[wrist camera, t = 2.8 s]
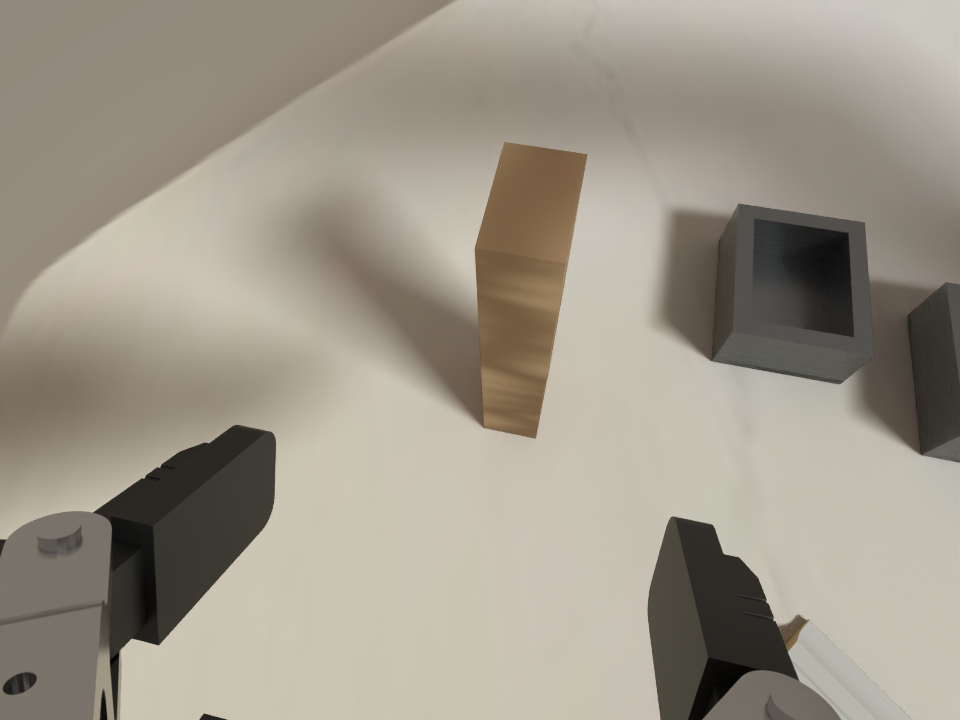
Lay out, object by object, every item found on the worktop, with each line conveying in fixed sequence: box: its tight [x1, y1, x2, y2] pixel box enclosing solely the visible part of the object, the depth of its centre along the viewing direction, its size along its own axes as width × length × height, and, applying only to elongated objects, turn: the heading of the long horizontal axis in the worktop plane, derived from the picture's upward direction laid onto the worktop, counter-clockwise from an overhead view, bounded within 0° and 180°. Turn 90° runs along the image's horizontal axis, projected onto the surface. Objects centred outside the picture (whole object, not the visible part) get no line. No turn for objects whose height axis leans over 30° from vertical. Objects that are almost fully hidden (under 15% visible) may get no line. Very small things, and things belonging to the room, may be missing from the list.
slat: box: [475, 142, 587, 438], centre depth 24 cm, size 2×4×14 cm, turn 168°
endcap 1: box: [712, 204, 874, 384], centre depth 30 cm, size 6×8×3 cm
